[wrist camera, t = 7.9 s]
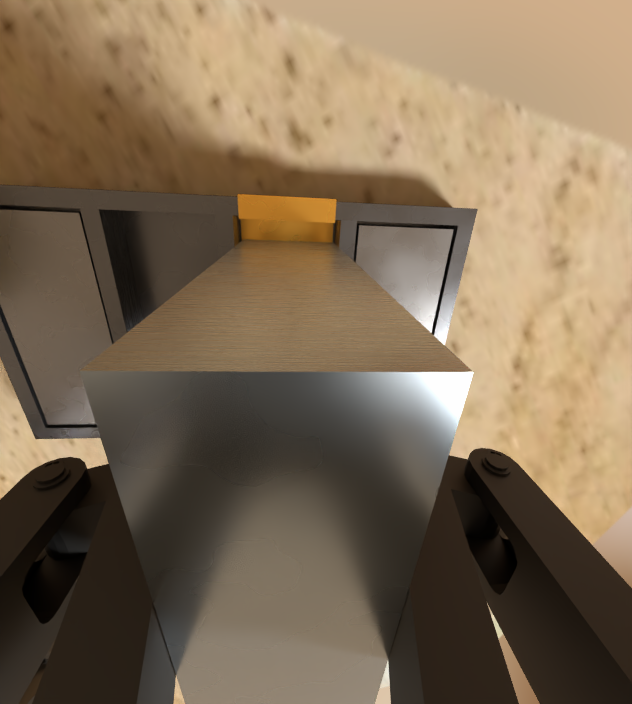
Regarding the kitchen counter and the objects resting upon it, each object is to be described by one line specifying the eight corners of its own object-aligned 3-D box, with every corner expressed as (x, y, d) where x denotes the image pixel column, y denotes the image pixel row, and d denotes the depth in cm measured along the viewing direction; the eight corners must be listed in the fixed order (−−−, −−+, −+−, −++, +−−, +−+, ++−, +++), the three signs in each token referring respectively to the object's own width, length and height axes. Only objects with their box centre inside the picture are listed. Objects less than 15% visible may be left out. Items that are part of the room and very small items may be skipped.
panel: (253, 428, 18) (201, 753, 8) (244, 239, 14) (78, 370, 3) (321, 427, 19) (364, 737, 8) (333, 242, 14) (473, 372, 3)
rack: (61, 414, 22) (25, 447, 19) (-24, 181, 16) (-98, 176, 13) (410, 410, 24) (428, 440, 21) (454, 206, 18) (487, 206, 15)
